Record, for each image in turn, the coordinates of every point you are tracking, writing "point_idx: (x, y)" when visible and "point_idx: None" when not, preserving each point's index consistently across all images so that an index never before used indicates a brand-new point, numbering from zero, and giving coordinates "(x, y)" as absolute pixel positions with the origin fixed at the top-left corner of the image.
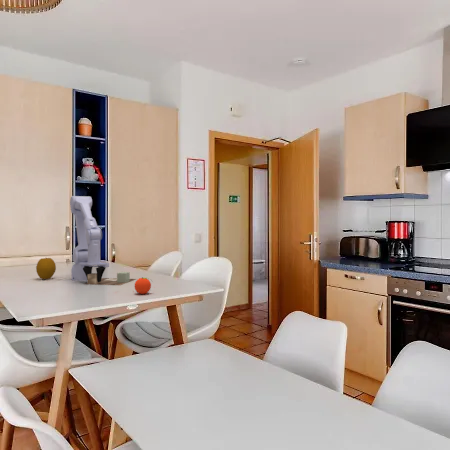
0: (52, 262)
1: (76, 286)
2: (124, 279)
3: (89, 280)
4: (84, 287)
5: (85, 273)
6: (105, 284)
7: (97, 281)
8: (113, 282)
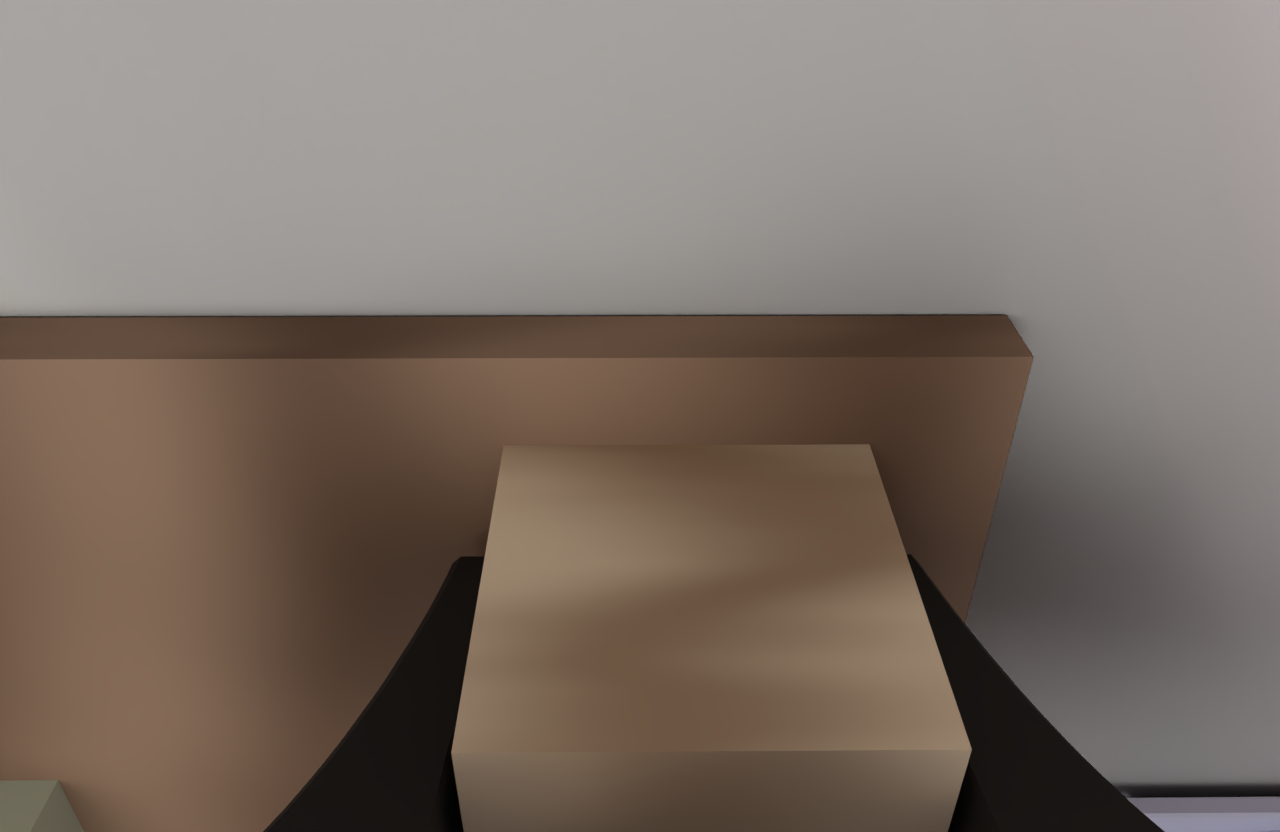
0: None
1: (1251, 237)
2: None
3: (807, 528)
4: (834, 84)
5: (1125, 812)
6: (97, 429)
7: None
8: (152, 756)
